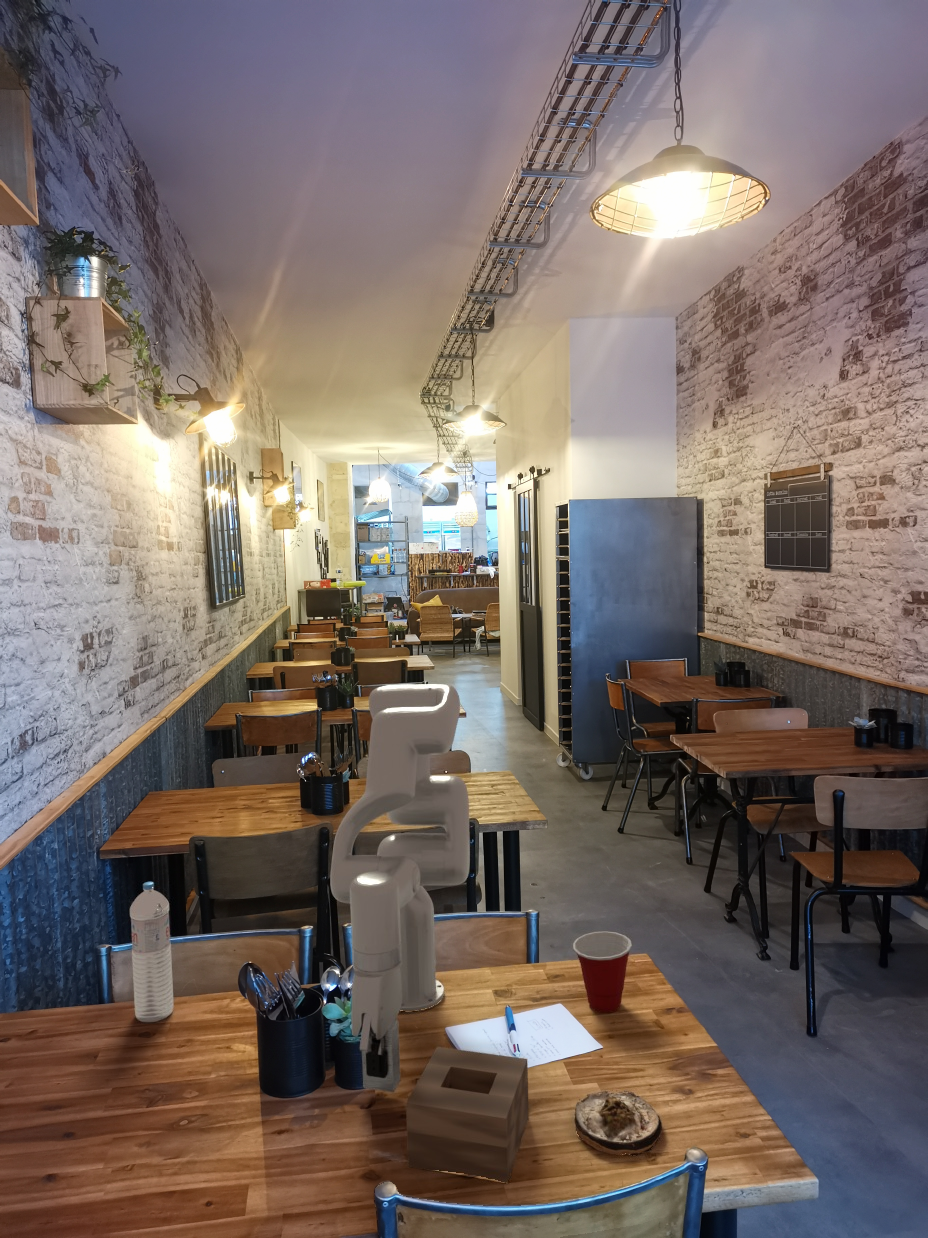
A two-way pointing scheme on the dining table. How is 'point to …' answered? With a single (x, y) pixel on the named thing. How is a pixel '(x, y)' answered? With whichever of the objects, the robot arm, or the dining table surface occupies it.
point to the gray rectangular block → (392, 1062)
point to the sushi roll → (617, 1123)
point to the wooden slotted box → (468, 1113)
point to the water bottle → (151, 955)
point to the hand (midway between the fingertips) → (381, 1067)
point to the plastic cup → (603, 968)
